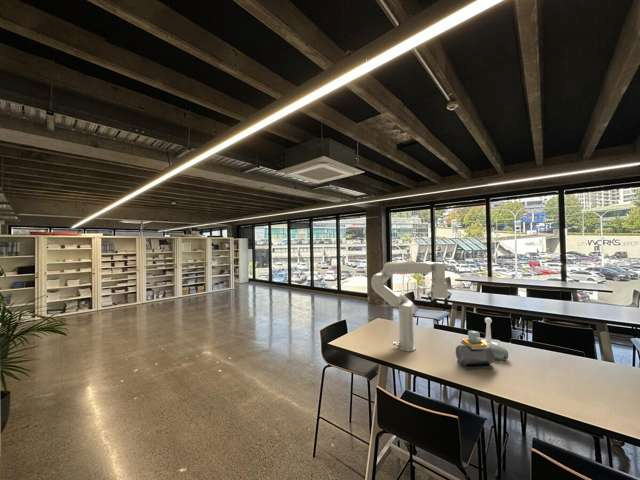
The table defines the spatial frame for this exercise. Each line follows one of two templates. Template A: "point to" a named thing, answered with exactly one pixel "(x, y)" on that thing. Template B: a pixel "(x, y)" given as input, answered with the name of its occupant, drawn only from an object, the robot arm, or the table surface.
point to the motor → (474, 355)
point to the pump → (474, 337)
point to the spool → (499, 352)
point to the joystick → (488, 333)
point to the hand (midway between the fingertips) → (439, 305)
